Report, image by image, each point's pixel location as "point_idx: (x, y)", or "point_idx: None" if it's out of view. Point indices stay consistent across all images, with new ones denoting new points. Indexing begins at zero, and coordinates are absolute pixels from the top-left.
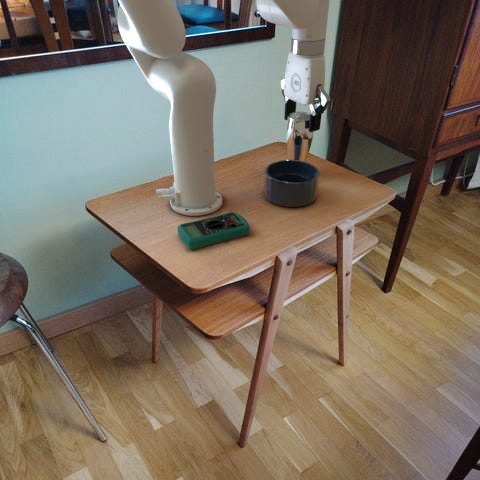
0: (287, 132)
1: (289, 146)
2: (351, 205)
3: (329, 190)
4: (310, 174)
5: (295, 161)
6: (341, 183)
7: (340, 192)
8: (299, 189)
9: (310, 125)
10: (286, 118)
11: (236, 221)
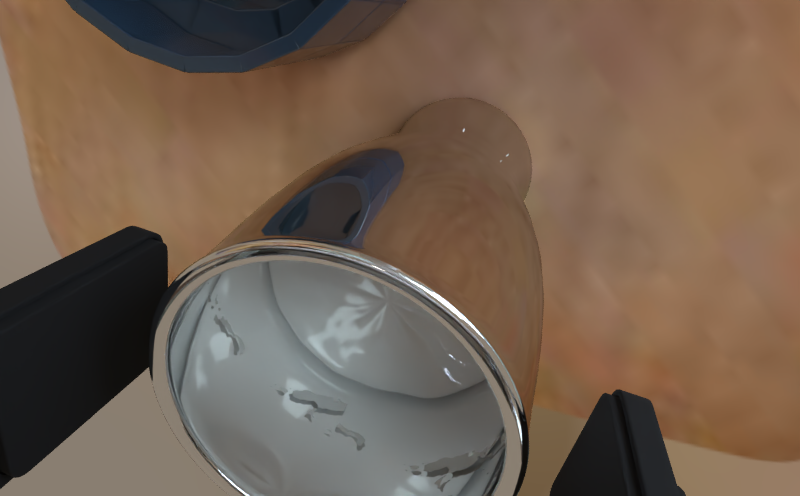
0: (451, 179)
1: (430, 135)
2: (48, 60)
3: (206, 122)
4: (213, 47)
5: (300, 25)
6: (226, 227)
7: (164, 142)
8: None
9: (73, 254)
10: (608, 404)
11: None
